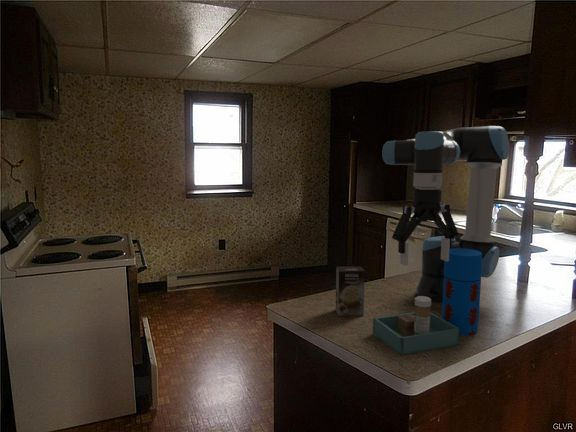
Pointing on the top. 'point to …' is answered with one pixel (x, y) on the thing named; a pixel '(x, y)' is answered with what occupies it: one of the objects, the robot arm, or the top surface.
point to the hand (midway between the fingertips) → (424, 262)
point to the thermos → (462, 289)
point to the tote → (437, 338)
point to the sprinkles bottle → (422, 315)
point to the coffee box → (350, 291)
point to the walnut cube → (406, 325)
